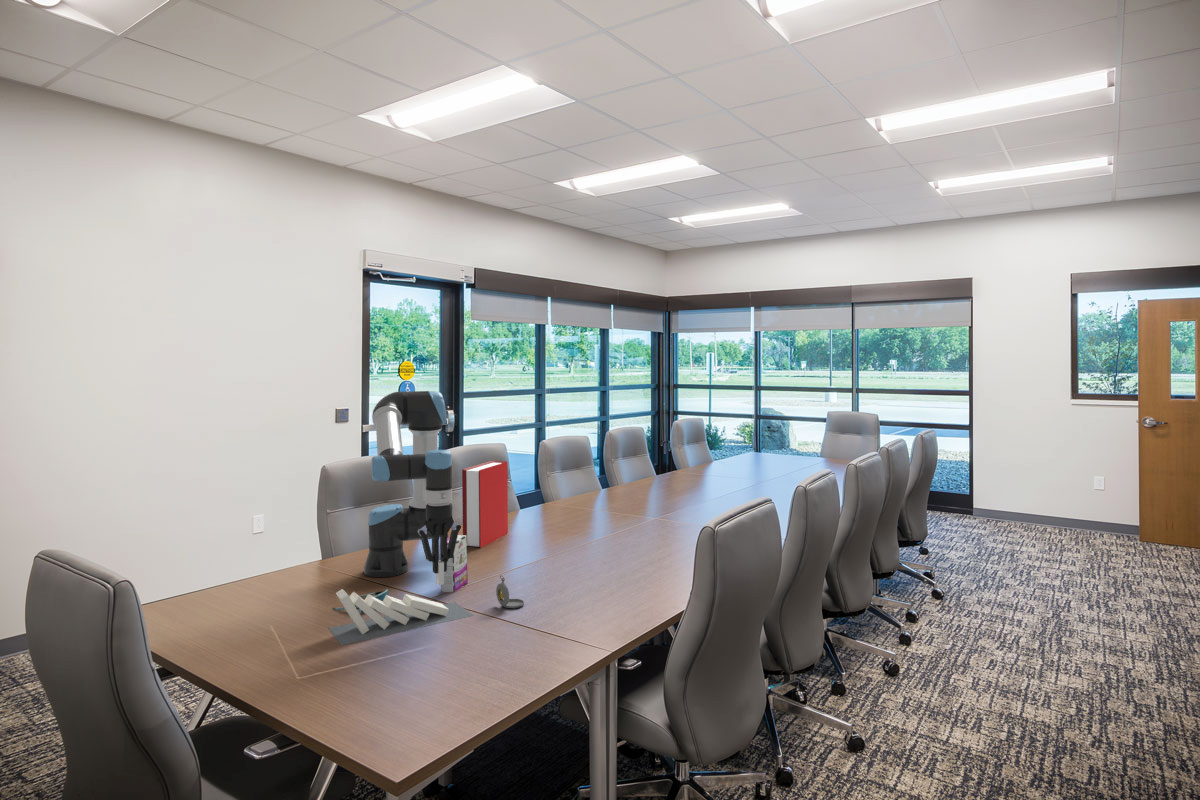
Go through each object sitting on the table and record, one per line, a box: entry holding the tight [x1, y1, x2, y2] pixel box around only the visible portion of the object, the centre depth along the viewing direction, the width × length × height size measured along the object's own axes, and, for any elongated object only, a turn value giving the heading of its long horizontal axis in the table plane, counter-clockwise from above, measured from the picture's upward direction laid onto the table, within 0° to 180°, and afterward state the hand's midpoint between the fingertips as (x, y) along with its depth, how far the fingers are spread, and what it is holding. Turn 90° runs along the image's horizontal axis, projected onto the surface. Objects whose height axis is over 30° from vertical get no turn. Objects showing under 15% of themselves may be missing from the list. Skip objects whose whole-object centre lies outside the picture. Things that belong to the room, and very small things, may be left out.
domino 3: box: [363, 593, 409, 625], centre depth 185 cm, size 6×2×12 cm
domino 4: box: [383, 594, 429, 620], centre depth 189 cm, size 6×2×12 cm
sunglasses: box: [333, 589, 390, 614], centre depth 202 cm, size 14×15×5 cm
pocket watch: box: [495, 575, 525, 609], centre depth 201 cm, size 8×8×10 cm
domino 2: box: [348, 591, 389, 630], centre depth 183 cm, size 6×2×12 cm
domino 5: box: [401, 593, 449, 616], centre depth 192 cm, size 6×2×12 cm
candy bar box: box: [439, 534, 469, 593], centre depth 219 cm, size 11×5×16 cm, turn 168°
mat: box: [328, 601, 474, 646], centre depth 188 cm, size 14×37×1 cm, turn 125°
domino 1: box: [335, 588, 369, 635], centre depth 180 cm, size 6×2×12 cm, turn 35°
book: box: [461, 460, 509, 549], centre depth 282 cm, size 27×8×32 cm, turn 163°
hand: (439, 583), depth 194 cm, fingers closed
